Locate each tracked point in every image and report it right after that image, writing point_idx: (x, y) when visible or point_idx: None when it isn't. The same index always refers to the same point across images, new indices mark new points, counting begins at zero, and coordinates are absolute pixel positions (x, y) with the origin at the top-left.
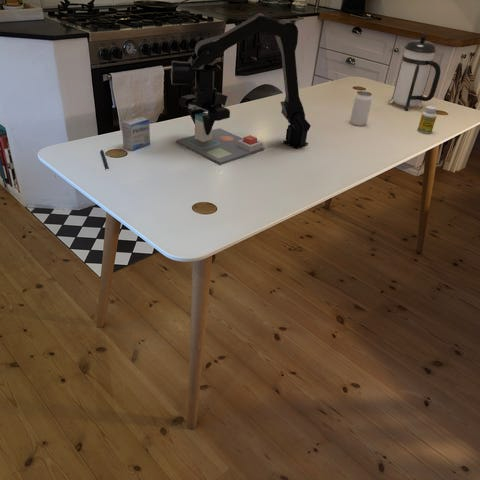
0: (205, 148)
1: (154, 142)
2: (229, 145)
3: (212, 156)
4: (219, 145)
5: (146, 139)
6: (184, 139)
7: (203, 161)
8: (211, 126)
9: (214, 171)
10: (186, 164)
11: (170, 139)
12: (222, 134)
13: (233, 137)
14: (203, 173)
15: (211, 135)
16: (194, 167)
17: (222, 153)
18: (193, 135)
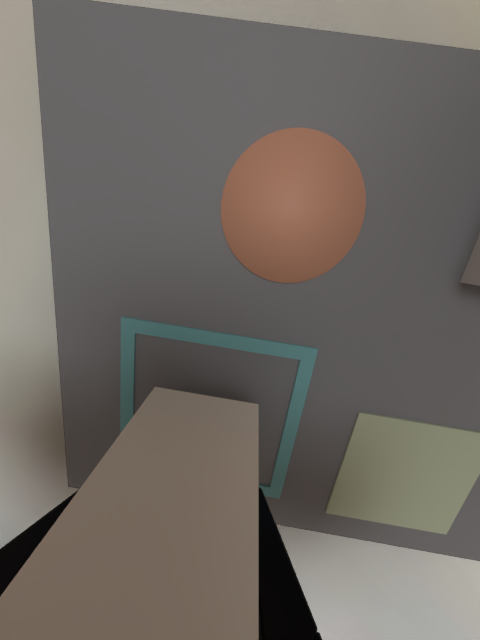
0: (286, 474)
1: (19, 528)
2: (396, 320)
3: (394, 529)
4: (329, 375)
5: None
6: (86, 447)
7: (363, 555)
8: (308, 632)
9: (476, 601)
10: (316, 610)
11: (23, 458)
12: (187, 143)
13: (322, 119)
14: (438, 632)
15: (256, 432)
16: (366, 613)
17: (431, 472)
18: (60, 358)
